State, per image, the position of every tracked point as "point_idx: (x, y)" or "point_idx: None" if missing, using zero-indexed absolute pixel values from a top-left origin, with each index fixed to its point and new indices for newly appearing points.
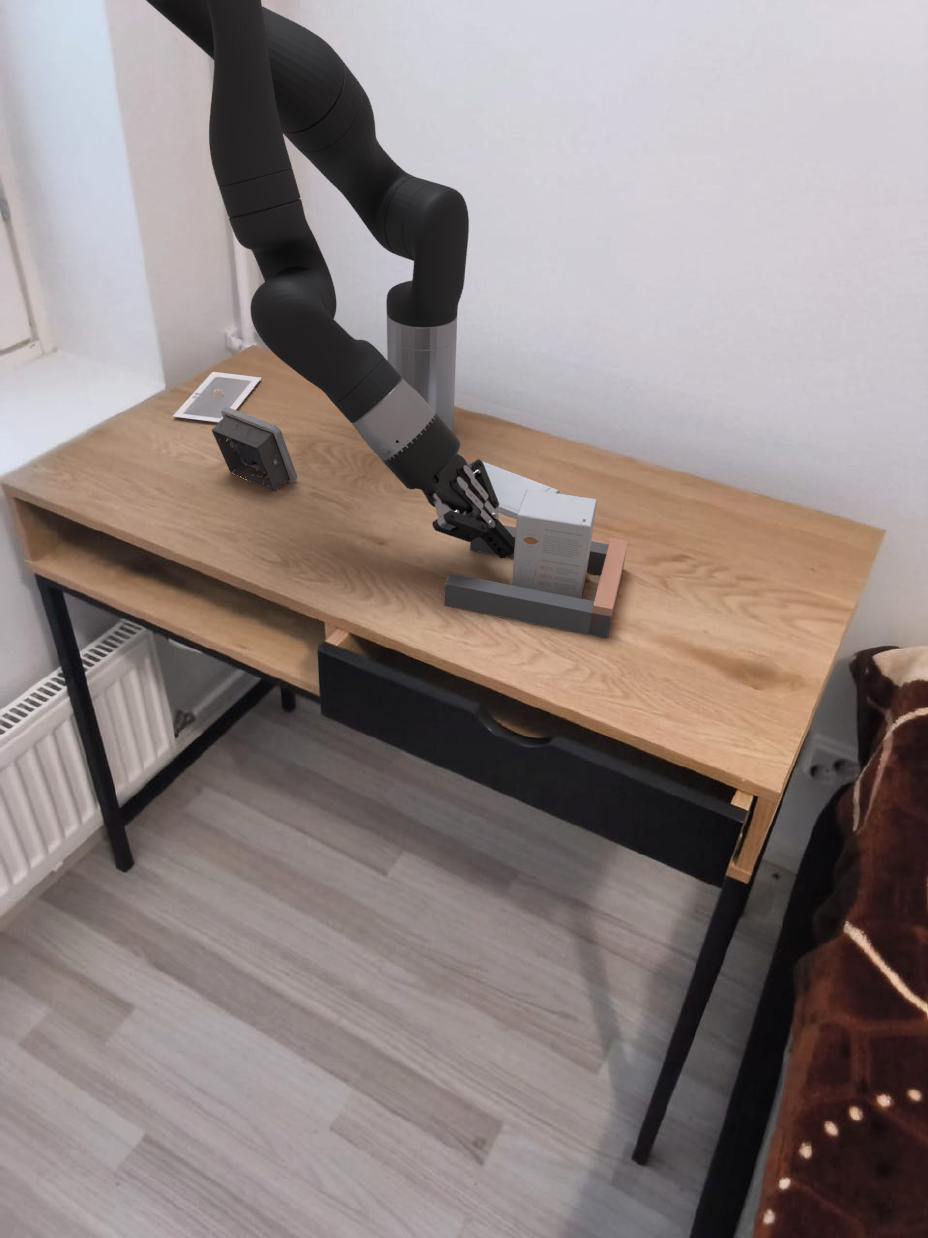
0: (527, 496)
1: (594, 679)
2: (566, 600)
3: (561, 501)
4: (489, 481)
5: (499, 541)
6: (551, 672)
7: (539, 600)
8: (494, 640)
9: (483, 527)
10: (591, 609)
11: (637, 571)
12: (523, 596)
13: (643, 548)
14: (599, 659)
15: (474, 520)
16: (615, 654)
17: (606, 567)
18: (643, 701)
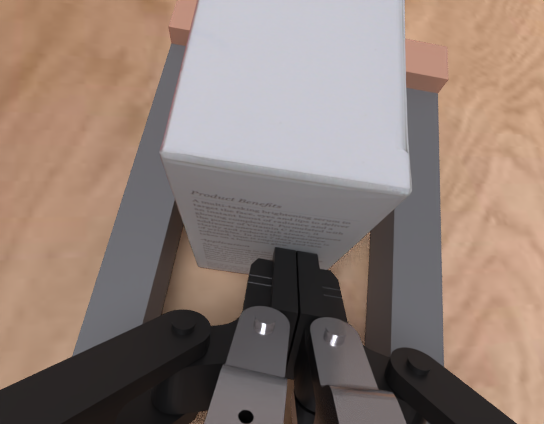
0: (240, 149)
1: (522, 124)
2: (411, 140)
3: (265, 16)
4: (51, 376)
5: (340, 300)
6: (535, 193)
7: (431, 198)
8: (490, 309)
9: (430, 365)
10: (428, 93)
11: None
12: (429, 235)
13: (108, 17)
14: (469, 114)
15: (461, 421)
16: (447, 90)
17: None
18: (539, 61)
